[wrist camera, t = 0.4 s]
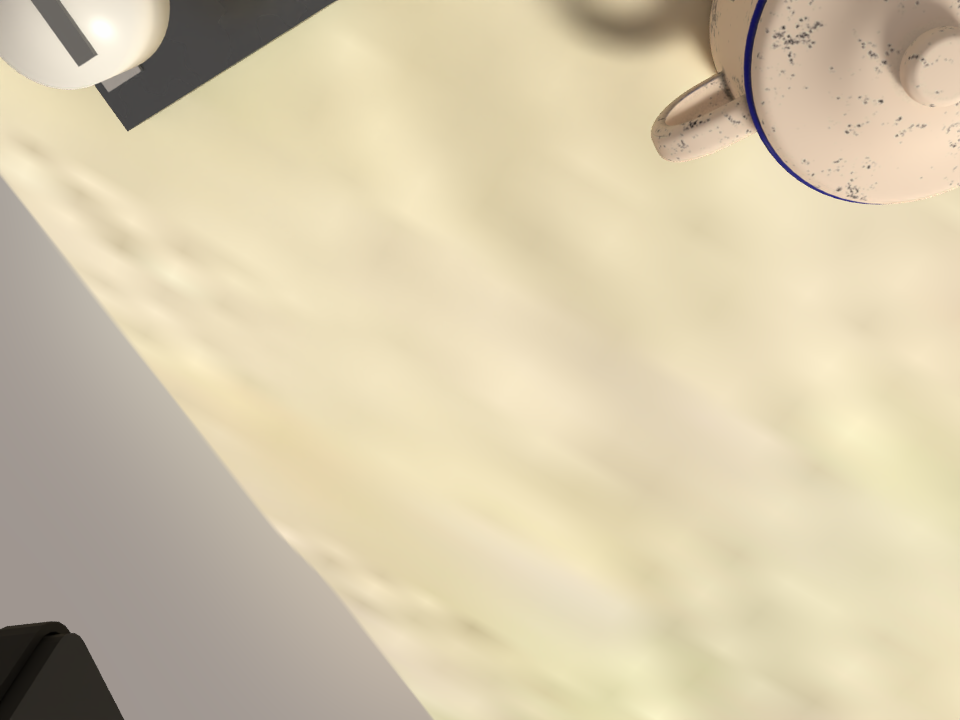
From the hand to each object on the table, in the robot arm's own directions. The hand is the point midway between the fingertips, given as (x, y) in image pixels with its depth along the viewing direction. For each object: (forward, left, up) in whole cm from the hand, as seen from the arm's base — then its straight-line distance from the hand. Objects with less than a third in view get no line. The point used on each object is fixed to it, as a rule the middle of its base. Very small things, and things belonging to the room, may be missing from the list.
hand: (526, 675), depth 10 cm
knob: (+4, -13, -24) cm, 28 cm away
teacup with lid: (-7, +6, -30) cm, 31 cm away
